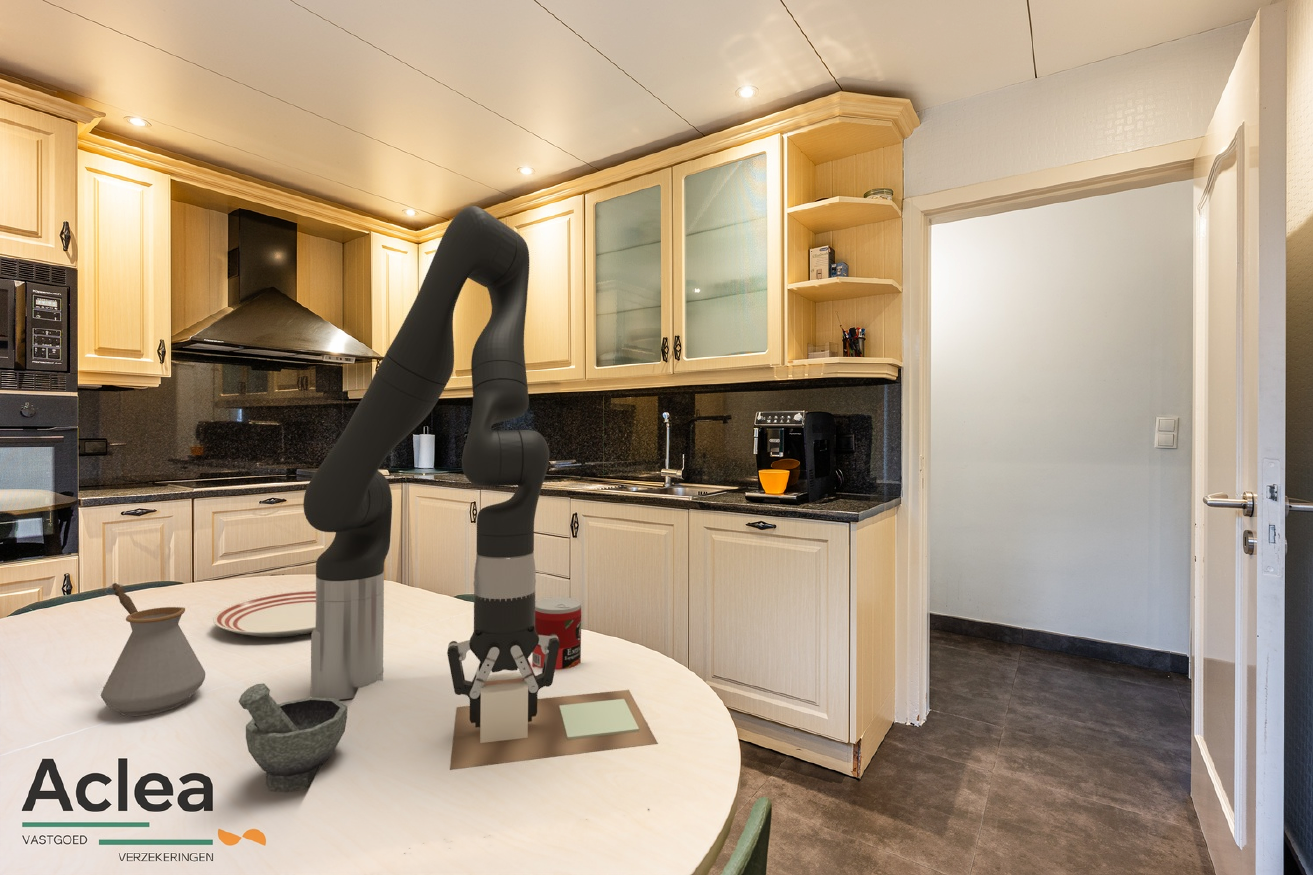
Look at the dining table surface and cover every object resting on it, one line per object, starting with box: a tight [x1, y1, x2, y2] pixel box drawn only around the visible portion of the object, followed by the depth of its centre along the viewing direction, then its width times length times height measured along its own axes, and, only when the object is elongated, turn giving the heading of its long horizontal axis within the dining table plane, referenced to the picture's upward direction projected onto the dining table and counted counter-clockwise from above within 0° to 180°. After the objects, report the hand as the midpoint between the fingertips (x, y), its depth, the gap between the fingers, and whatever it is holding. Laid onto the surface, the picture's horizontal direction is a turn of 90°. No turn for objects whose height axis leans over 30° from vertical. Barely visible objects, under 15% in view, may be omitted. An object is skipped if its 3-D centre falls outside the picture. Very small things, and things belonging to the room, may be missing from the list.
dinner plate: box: [212, 589, 316, 638], centre depth 125 cm, size 27×27×3 cm
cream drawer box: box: [480, 671, 528, 743], centre depth 78 cm, size 6×6×6 cm
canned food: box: [531, 596, 582, 671], centre depth 102 cm, size 8×8×11 cm
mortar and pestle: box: [238, 682, 348, 793], centre depth 69 cm, size 11×9×12 cm
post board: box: [449, 689, 659, 771], centre depth 80 cm, size 24×16×6 cm, turn 105°
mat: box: [559, 699, 639, 740], centre depth 81 cm, size 9×9×1 cm
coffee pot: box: [100, 582, 206, 717], centre depth 90 cm, size 21×12×15 cm, turn 58°
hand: (503, 721), depth 78 cm, fingers closed on cream drawer box, 5 cm apart
